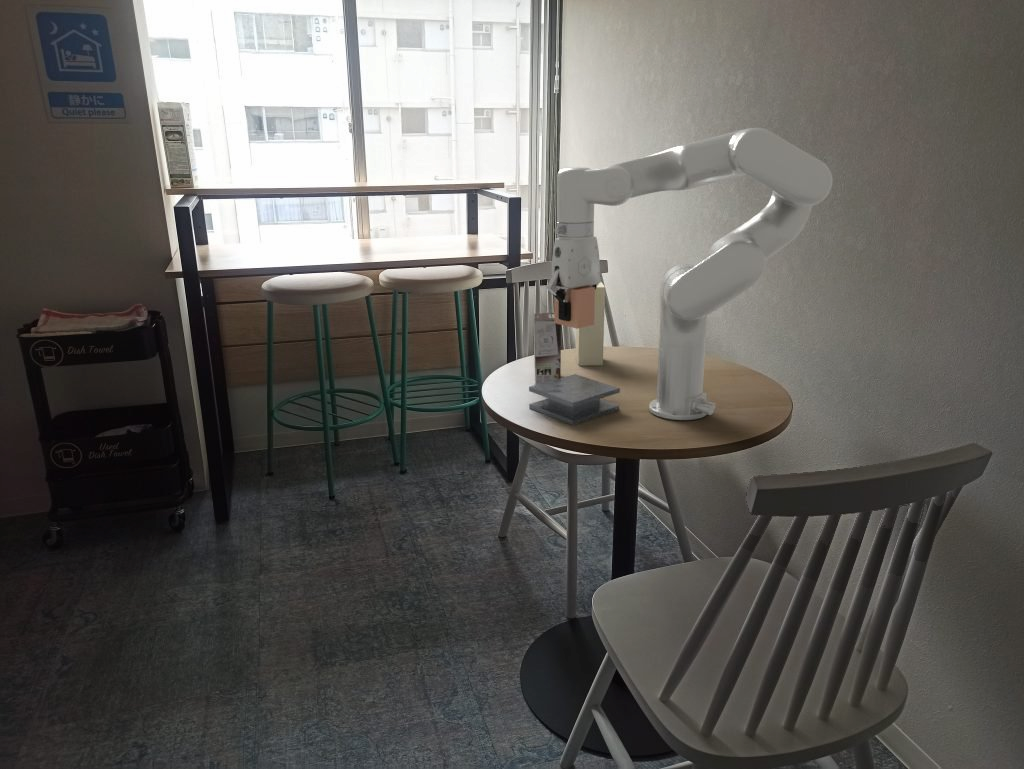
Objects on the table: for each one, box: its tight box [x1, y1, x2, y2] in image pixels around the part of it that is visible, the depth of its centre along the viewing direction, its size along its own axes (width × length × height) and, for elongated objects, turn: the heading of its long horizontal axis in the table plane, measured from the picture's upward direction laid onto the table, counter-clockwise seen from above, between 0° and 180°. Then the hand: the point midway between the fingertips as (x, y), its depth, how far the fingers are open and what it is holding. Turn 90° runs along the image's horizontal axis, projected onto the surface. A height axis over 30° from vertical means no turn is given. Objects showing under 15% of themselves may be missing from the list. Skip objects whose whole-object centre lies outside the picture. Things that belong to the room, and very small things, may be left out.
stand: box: [528, 373, 621, 426], centre depth 159 cm, size 14×14×5 cm
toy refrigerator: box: [575, 281, 606, 367], centre depth 191 cm, size 8×7×21 cm
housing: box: [553, 286, 595, 330], centre depth 152 cm, size 7×5×9 cm
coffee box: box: [533, 312, 562, 385], centre depth 178 cm, size 9×6×16 cm
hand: (574, 317), depth 153 cm, fingers closed on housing, 5 cm apart
